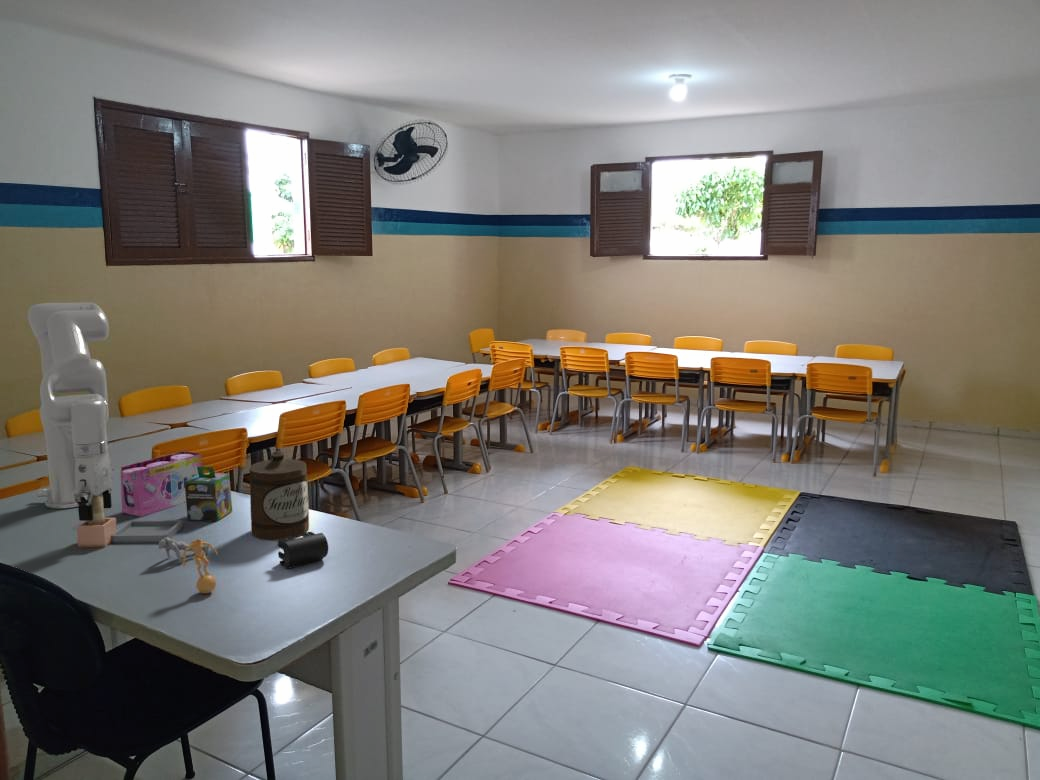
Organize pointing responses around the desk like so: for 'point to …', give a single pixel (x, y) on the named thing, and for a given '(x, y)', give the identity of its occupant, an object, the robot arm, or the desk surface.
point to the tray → (147, 530)
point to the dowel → (97, 510)
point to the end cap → (302, 549)
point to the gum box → (157, 482)
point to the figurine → (205, 581)
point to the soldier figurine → (177, 547)
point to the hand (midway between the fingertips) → (95, 514)
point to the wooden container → (279, 498)
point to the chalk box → (208, 495)
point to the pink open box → (96, 533)
